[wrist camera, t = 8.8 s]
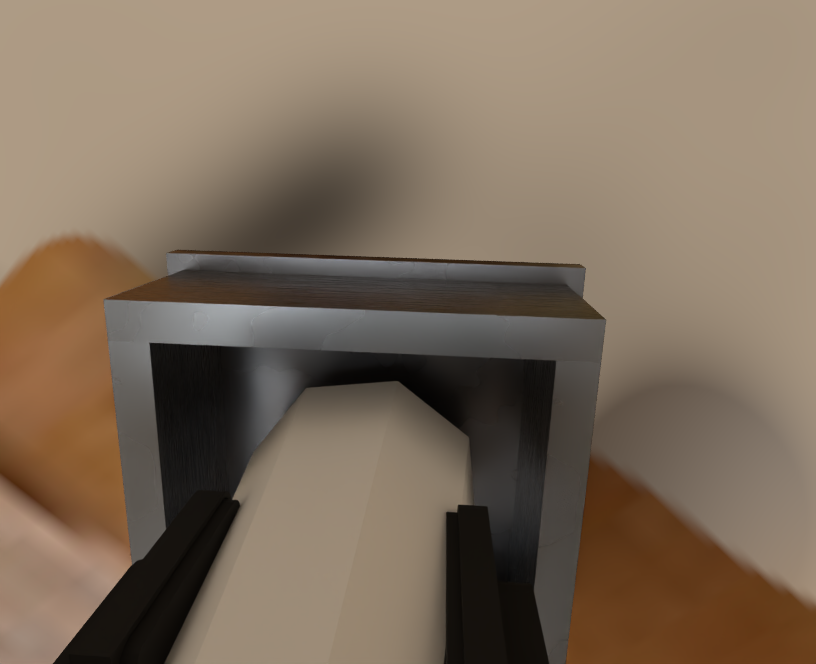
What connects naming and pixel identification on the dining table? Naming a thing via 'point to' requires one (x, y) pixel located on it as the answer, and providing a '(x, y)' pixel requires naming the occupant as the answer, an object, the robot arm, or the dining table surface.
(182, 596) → the robot arm
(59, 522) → the dining table surface
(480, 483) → the grey square tray
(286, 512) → the pepper shaker
